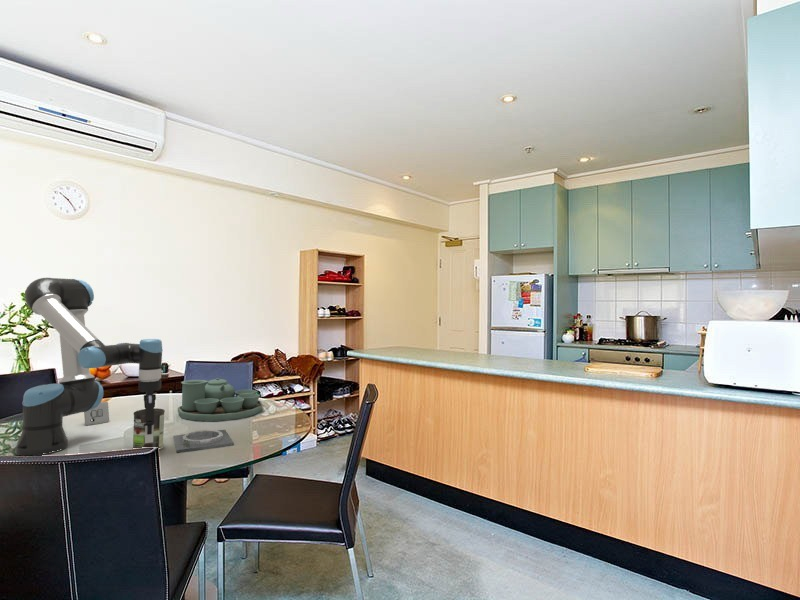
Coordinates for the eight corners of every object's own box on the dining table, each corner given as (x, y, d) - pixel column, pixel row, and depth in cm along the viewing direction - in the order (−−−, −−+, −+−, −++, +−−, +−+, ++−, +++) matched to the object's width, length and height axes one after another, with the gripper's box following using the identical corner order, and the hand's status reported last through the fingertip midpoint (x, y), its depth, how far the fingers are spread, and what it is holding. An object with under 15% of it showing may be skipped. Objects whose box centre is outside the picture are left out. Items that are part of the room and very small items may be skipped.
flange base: (176, 452, 164) (177, 446, 164) (173, 438, 182) (173, 432, 182) (233, 445, 175) (233, 438, 175) (224, 431, 192) (225, 426, 192)
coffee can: (147, 454, 162) (148, 415, 162) (125, 451, 165) (126, 413, 165) (170, 446, 172) (170, 409, 172) (148, 443, 175) (149, 407, 175)
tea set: (216, 427, 200) (217, 390, 200) (160, 414, 219) (161, 381, 219) (279, 409, 235) (279, 378, 235) (226, 400, 254) (227, 371, 254)
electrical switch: (85, 426, 196) (85, 405, 197) (81, 425, 199) (81, 404, 200) (109, 422, 203) (109, 401, 204) (105, 421, 206) (105, 401, 207)
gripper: (162, 384, 161) (161, 445, 161) (160, 374, 180) (158, 429, 180) (138, 385, 157) (137, 448, 157) (138, 376, 176) (137, 432, 176)
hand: (148, 438), depth 168 cm, fingers closed on coffee can, 10 cm apart
